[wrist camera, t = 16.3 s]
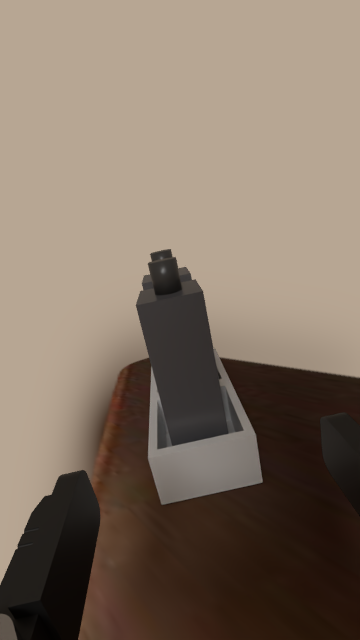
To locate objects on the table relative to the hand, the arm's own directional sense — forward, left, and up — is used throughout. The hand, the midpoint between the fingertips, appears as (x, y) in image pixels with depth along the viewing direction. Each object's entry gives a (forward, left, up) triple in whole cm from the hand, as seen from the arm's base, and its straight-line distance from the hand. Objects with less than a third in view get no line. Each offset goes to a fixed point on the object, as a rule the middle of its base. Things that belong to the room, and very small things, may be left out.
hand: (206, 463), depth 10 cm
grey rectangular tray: (-6, -13, -10) cm, 17 cm away
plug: (-5, -10, -9) cm, 14 cm away
